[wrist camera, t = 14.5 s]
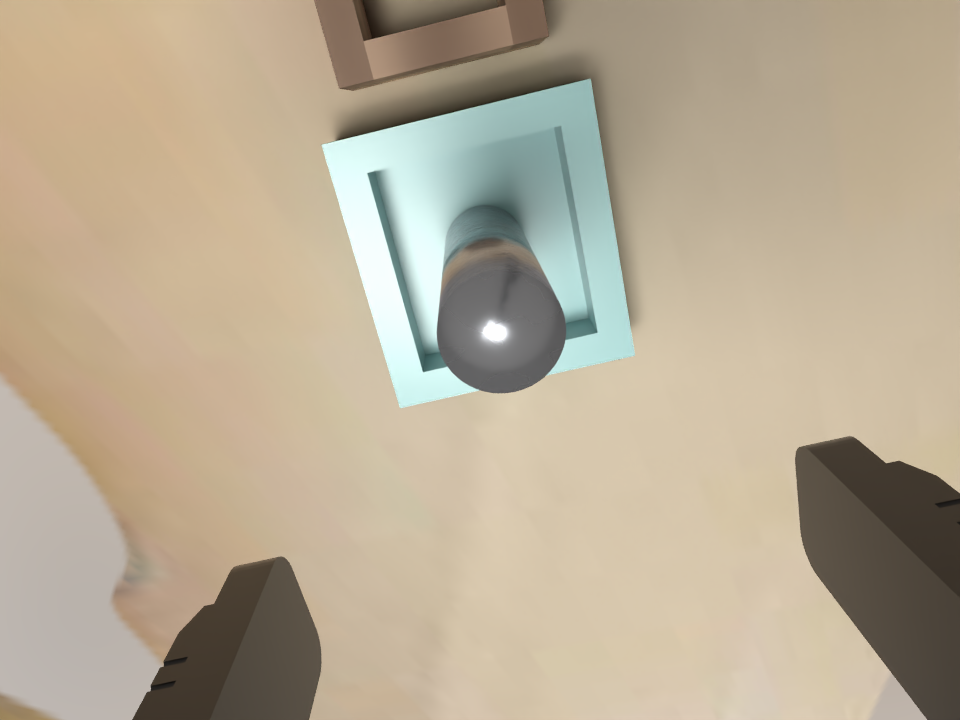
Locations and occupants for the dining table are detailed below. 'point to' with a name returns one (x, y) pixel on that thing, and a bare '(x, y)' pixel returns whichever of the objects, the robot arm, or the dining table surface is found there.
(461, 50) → the holder
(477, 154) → the tray
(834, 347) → the dining table surface
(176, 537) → the dining table surface
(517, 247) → the pin
